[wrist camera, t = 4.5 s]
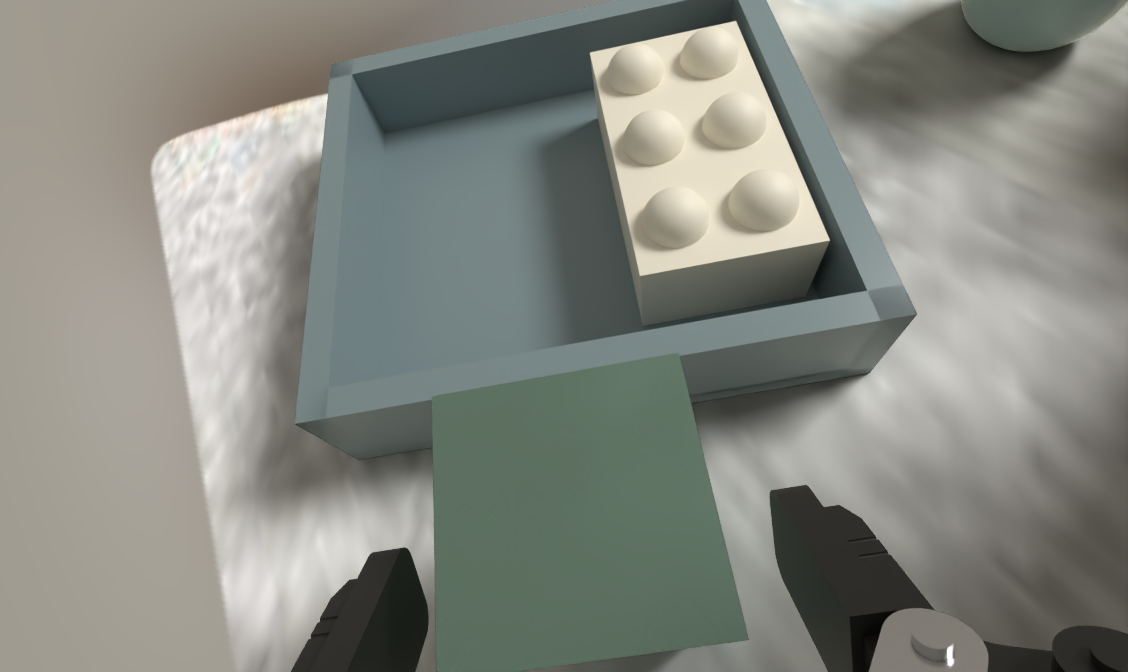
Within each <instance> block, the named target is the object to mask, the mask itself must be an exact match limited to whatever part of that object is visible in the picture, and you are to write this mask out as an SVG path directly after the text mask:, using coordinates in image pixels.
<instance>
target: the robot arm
mask: <svg viewBox="0 0 1128 672" xmlns="http://www.w3.org/2000/svg"><path fill="white" fill-rule="evenodd" d="M770 507H771V516H772V526H773V536H774V546H775V554H776V559H777V563H778V567H779V570H780V573H781V576H782V579H783V581H784V583H785V585H786V587H787V589H788V591H789V593H790V595H791V597H792V599H793V601H794V603H795V605H796V607H797V609H798V611H799V614H800V616H801V618H802V620H803V622H804V624H805V626H806V628H807V630H808V632H809V634H810V636H811V638H812V640H813V642H814V644H815V646H816V648H817V650H818V652H819V654H820V656H821V658H822V660H823V662H824V664H825V666H826V668H827V670H828V672H1128V634H1126V633H1123V632H1120V631H1116V630H1112V629H1109V628H1103V627H1097V626H1075V627H1070V628H1067V629H1064V630H1062V631H1061V632H1059V633H1058V634H1057V635H1056V636H1055V638H1054V640H1053V644H1052V651H1045V650H1036V649H1028V648H1020V647H1011V646H1004V645H998V644H993V643H989V642H986V641H983V640H982V639H981V638H980V637H979V635H978V634H977V633H976V632H975V631H974V630H973V629H971V628H970V627H969V626H967V625H966V624H965V623H963V622H962V621H960V620H958V619H956V618H954V617H952V616H950V615H948V614H945V613H942V612H939V611H935V610H934V609H933V608H932V606H931V605H930V604H929V603H928V601H927V600H926V599H925V598H924V596H923V595H922V594H921V593H920V591H919V590H918V589H917V587H916V586H915V585H914V584H913V582H912V581H911V580H910V579H909V577H908V576H907V575H906V574H905V572H904V571H903V570H902V569H901V567H900V566H899V565H898V564H897V562H896V561H895V560H894V559H893V557H892V556H891V555H888V552H887V550H886V549H885V547H884V546H883V545H882V544H881V542H880V541H879V540H877V539H876V536H875V535H874V534H873V532H872V531H871V530H870V529H869V527H868V526H867V525H866V524H865V522H864V521H863V520H862V519H861V518H860V517H858V516H856V515H855V514H853V513H851V512H850V511H848V510H847V509H845V508H843V507H842V506H840V505H836V506H830V507H823V506H822V504H821V503H820V502H819V500H818V499H817V498H816V496H815V495H814V493H813V492H812V491H811V489H810V488H809V487H808V486H807V485H803V486H797V487H790V488H784V489H778V490H771V491H770ZM427 630H428V607H427V602H426V599H425V596H424V593H423V590H422V587H421V584H420V580H419V577H418V574H417V571H416V568H415V565H414V562H413V559H412V556H411V553H410V551H409V550H408V549H407V548H399V549H392V550H386V551H380V552H373V553H371V554H370V555H369V557H368V559H367V561H366V563H365V565H364V567H363V569H362V571H361V573H360V574H359V576H358V578H357V579H353V580H349V581H348V582H347V583H346V584H345V585H344V586H343V587H342V588H341V589H340V590H339V591H338V592H337V593H336V594H335V595H334V596H333V597H332V598H331V599H330V601H329V603H328V605H327V607H326V609H325V610H324V612H323V614H322V616H321V618H320V622H319V623H317V625H316V627H315V629H314V630H313V632H312V634H311V639H309V640H308V641H307V643H306V645H305V647H304V649H303V650H302V652H301V654H300V656H299V658H298V660H297V661H296V663H295V665H294V667H293V669H292V671H291V672H415V671H416V667H417V664H418V661H419V658H420V654H421V651H422V648H423V645H424V641H425V638H426V635H427Z"/></svg>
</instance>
